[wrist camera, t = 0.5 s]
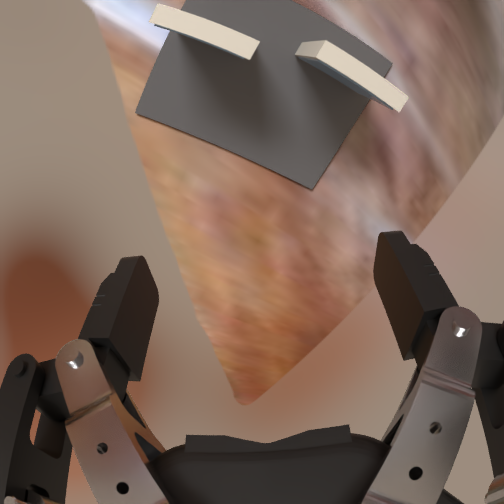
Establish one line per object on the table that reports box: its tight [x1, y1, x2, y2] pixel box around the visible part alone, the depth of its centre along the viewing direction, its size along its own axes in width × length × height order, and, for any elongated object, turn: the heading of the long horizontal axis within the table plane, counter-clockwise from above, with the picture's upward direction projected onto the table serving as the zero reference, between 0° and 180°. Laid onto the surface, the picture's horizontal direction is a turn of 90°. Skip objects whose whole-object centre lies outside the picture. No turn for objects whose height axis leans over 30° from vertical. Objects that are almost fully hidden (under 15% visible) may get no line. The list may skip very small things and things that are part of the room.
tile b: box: [295, 40, 409, 112], centre depth 24 cm, size 2×8×10 cm, turn 63°
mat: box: [135, 0, 392, 189], centre depth 29 cm, size 18×22×1 cm
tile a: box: [149, 3, 260, 60], centre depth 22 cm, size 2×8×10 cm, turn 63°
